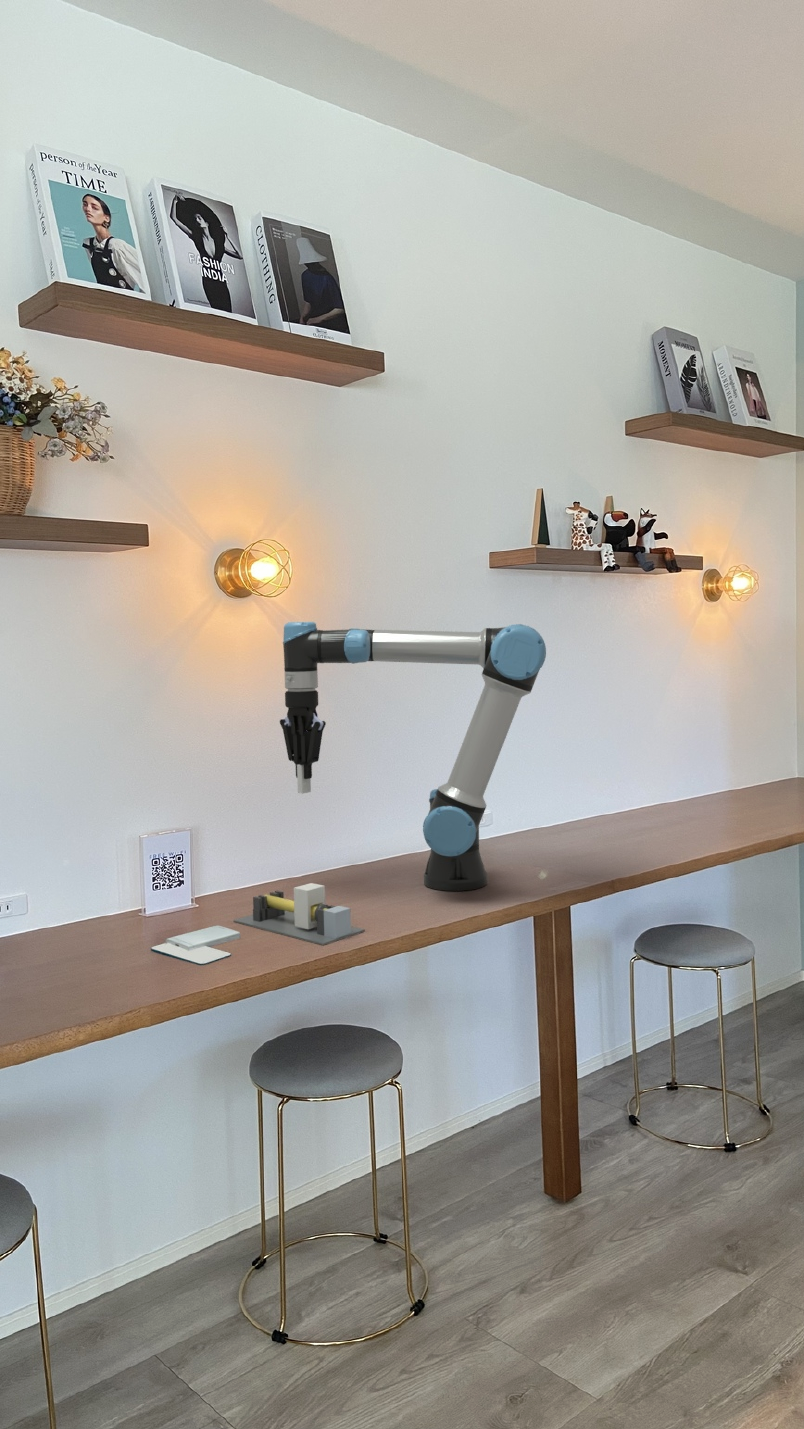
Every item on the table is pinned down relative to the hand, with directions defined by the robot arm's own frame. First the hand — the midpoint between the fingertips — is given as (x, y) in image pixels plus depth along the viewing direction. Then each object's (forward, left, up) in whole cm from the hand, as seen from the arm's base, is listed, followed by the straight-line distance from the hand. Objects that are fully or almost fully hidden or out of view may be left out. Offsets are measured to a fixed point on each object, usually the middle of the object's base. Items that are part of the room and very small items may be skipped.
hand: (304, 792), depth 243 cm
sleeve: (+18, +20, -23) cm, 35 cm away
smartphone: (+43, +12, -25) cm, 51 cm away
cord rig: (+18, +16, -24) cm, 34 cm away
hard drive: (+37, +8, -25) cm, 45 cm away
